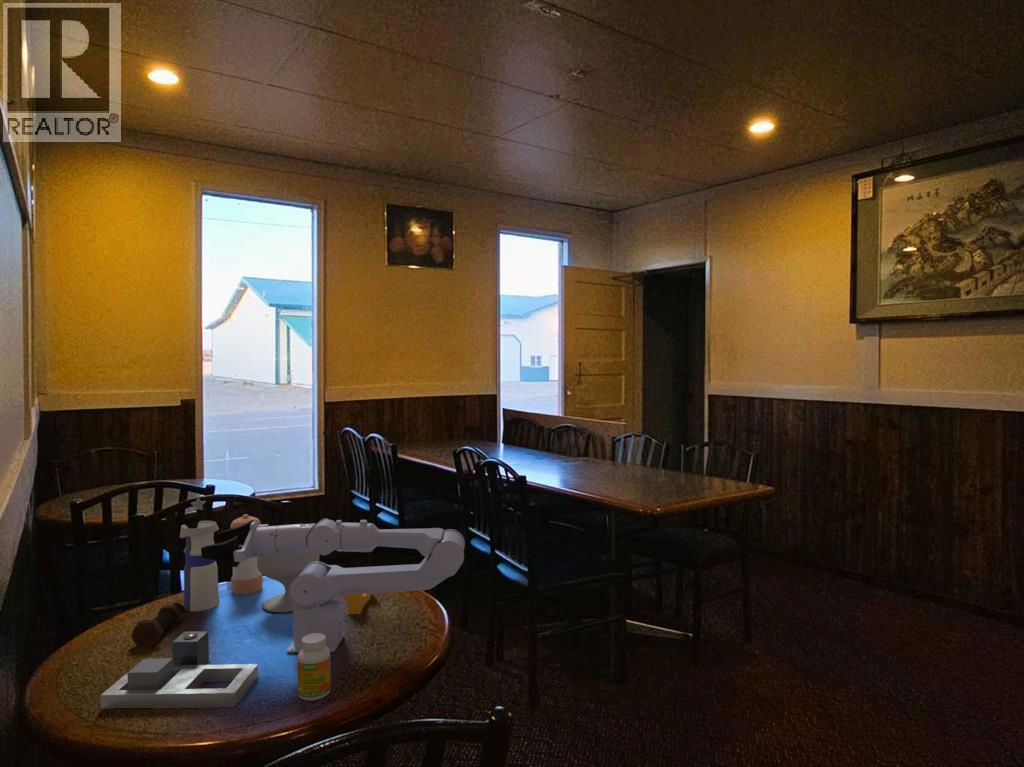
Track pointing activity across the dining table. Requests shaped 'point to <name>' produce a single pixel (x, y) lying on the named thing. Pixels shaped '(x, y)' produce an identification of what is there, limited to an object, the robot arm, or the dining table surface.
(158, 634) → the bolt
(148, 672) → the slate block
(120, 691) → the tray
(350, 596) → the pipe clamp
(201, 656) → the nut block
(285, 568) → the chalice
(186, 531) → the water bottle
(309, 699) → the supplement bottle
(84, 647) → the dining table surface
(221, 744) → the dining table surface
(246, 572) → the salt shaker
